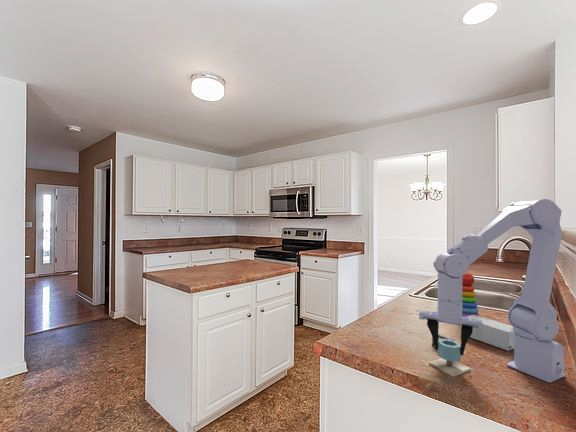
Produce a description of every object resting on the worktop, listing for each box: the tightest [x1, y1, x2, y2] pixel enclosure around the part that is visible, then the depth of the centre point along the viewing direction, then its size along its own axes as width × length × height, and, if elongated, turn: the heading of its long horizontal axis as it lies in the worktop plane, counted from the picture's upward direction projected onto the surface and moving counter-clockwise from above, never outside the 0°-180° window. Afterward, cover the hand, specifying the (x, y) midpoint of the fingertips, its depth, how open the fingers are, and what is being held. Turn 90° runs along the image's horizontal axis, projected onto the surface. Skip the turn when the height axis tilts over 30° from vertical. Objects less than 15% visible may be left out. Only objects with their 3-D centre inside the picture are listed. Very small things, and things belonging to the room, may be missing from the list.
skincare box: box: [459, 315, 514, 352], centre depth 95 cm, size 8×6×15 cm
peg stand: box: [428, 357, 472, 377], centre depth 78 cm, size 7×7×5 cm
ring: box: [437, 338, 462, 362], centre depth 78 cm, size 5×5×4 cm
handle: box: [431, 333, 456, 347], centre depth 86 cm, size 10×6×4 cm, turn 27°
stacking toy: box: [462, 272, 480, 317], centre depth 113 cm, size 8×8×19 cm
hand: (449, 351), depth 78 cm, fingers closed on ring, 5 cm apart
